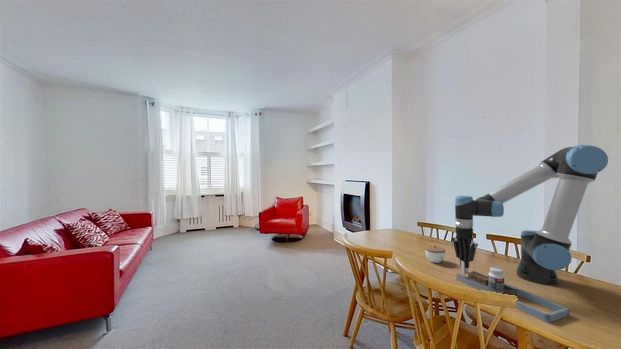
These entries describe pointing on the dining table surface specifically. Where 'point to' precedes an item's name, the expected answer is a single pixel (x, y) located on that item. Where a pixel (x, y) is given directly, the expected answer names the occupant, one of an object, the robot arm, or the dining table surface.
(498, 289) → the pill bottle
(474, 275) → the walnut chip
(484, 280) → the walnut chip
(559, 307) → the corral tray
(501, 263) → the dining table surface
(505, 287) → the slot rails
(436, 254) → the lidded jar
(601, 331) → the dining table surface
